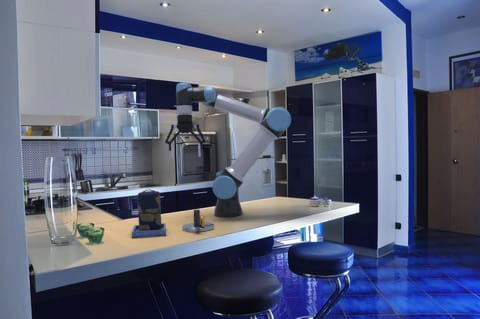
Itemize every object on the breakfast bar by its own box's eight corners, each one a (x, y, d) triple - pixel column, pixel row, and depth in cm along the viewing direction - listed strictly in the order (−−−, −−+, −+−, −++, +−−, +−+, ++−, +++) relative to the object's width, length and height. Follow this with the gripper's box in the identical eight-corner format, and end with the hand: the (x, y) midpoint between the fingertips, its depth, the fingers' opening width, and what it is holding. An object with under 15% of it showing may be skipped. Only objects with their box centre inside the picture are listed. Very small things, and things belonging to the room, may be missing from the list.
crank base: (212, 224, 174) (211, 210, 173) (216, 230, 160) (215, 215, 160) (181, 226, 171) (181, 212, 171) (183, 233, 157) (182, 218, 157)
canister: (156, 234, 154) (154, 190, 153) (134, 233, 156) (133, 190, 155) (165, 229, 163) (163, 188, 163) (145, 228, 165) (143, 188, 164)
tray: (165, 228, 168) (165, 223, 168) (166, 235, 153) (165, 229, 153) (134, 230, 165) (134, 225, 165) (131, 238, 151) (131, 232, 151)
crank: (194, 224, 167) (193, 206, 167) (202, 223, 167) (202, 205, 167) (192, 230, 155) (191, 210, 155) (201, 229, 155) (201, 210, 155)
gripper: (208, 115, 192) (209, 156, 193) (159, 115, 187) (160, 157, 188) (210, 113, 185) (211, 156, 185) (159, 114, 180) (160, 158, 180)
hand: (186, 157), depth 186 cm, fingers open, 13 cm apart
